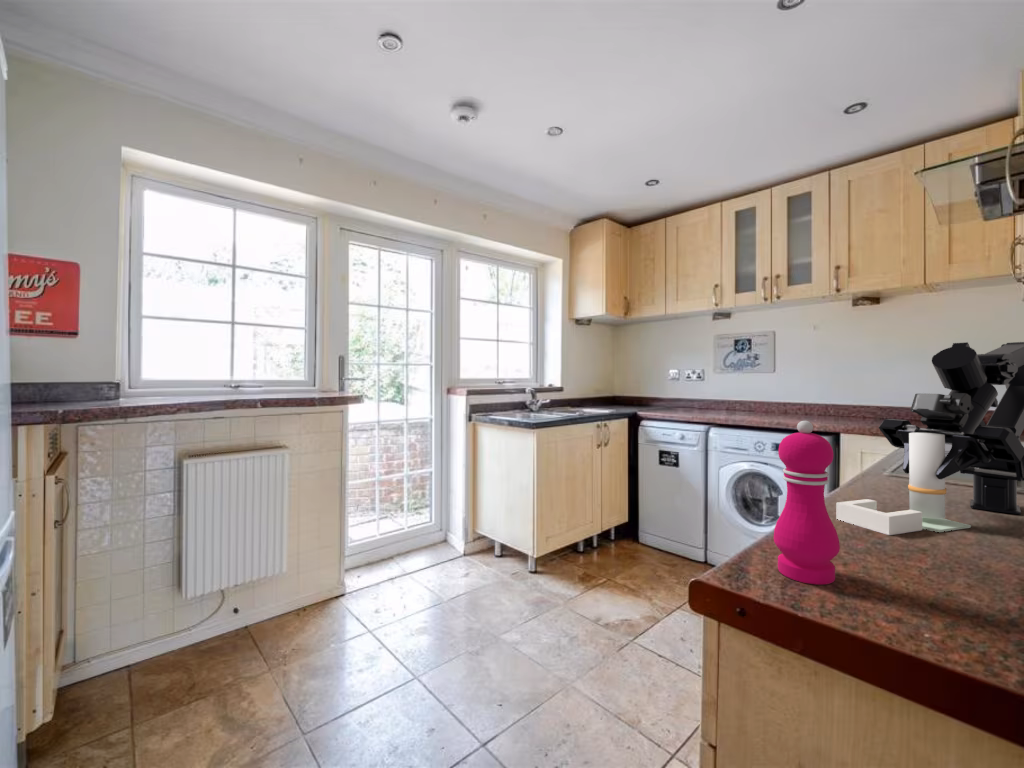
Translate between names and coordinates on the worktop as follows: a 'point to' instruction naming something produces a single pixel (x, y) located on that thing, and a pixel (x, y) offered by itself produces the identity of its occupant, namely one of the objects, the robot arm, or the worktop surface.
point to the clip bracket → (878, 517)
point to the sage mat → (942, 525)
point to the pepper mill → (806, 510)
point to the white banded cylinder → (926, 474)
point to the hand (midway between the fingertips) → (921, 474)
